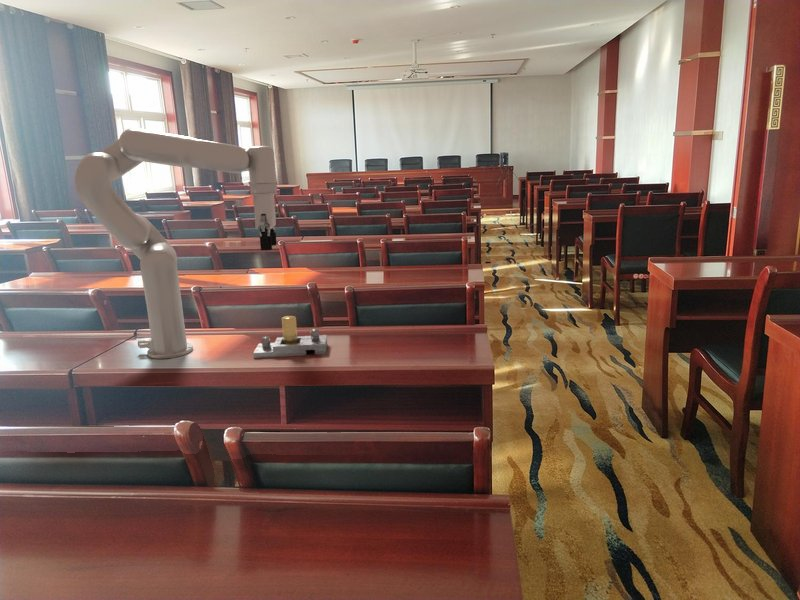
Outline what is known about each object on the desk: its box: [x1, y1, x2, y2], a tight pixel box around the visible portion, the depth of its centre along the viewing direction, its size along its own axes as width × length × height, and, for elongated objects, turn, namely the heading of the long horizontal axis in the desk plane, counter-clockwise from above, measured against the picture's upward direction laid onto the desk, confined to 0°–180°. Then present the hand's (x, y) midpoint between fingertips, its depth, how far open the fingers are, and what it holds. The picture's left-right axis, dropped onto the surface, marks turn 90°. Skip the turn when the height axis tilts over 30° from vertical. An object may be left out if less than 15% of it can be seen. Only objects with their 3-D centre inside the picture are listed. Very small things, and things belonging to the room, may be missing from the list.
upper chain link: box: [273, 328, 328, 355], centre depth 173 cm, size 14×9×6 cm, turn 94°
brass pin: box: [281, 315, 298, 344], centre depth 172 cm, size 4×4×10 cm
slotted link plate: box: [253, 335, 308, 359], centre depth 173 cm, size 14×9×4 cm, turn 94°
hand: (269, 247), depth 180 cm, fingers open, 9 cm apart
